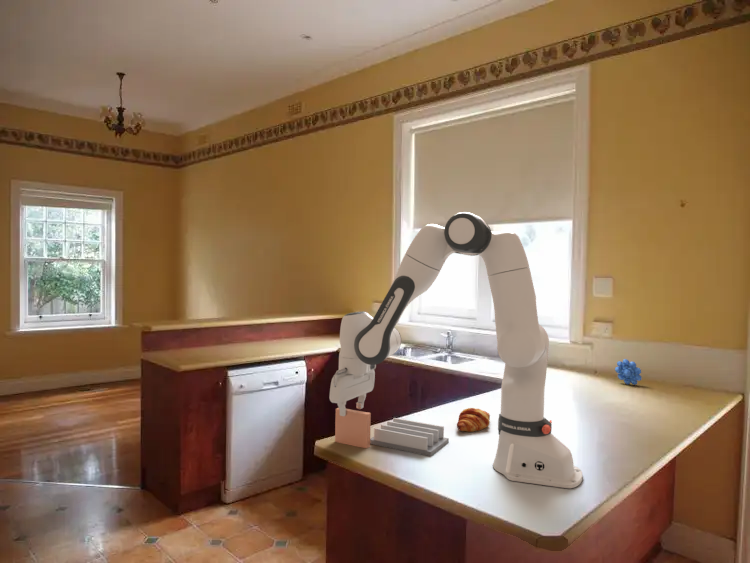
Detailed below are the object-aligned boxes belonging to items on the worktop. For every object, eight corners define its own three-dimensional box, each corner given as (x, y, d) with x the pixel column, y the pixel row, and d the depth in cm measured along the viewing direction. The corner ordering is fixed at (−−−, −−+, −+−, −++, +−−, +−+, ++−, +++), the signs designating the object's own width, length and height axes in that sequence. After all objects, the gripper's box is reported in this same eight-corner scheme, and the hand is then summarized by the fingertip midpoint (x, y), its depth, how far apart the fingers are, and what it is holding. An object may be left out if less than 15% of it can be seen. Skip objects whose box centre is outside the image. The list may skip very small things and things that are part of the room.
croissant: (479, 428, 187) (470, 406, 189) (504, 419, 182) (494, 397, 184) (451, 442, 170) (442, 418, 172) (477, 433, 165) (467, 408, 167)
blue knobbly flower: (612, 384, 249) (613, 359, 249) (615, 381, 254) (616, 357, 254) (639, 387, 242) (640, 362, 242) (642, 385, 248) (643, 360, 247)
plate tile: (370, 446, 155) (370, 412, 154) (366, 448, 153) (367, 414, 153) (338, 440, 160) (339, 407, 160) (335, 441, 158) (335, 408, 158)
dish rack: (448, 442, 160) (448, 426, 160) (430, 456, 148) (431, 439, 148) (390, 431, 170) (390, 416, 169) (368, 443, 157) (369, 427, 157)
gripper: (343, 372, 145) (342, 422, 146) (378, 362, 163) (377, 406, 164) (325, 369, 148) (323, 418, 149) (361, 359, 166) (359, 402, 167)
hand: (351, 411), depth 156 cm, fingers open, 8 cm apart
